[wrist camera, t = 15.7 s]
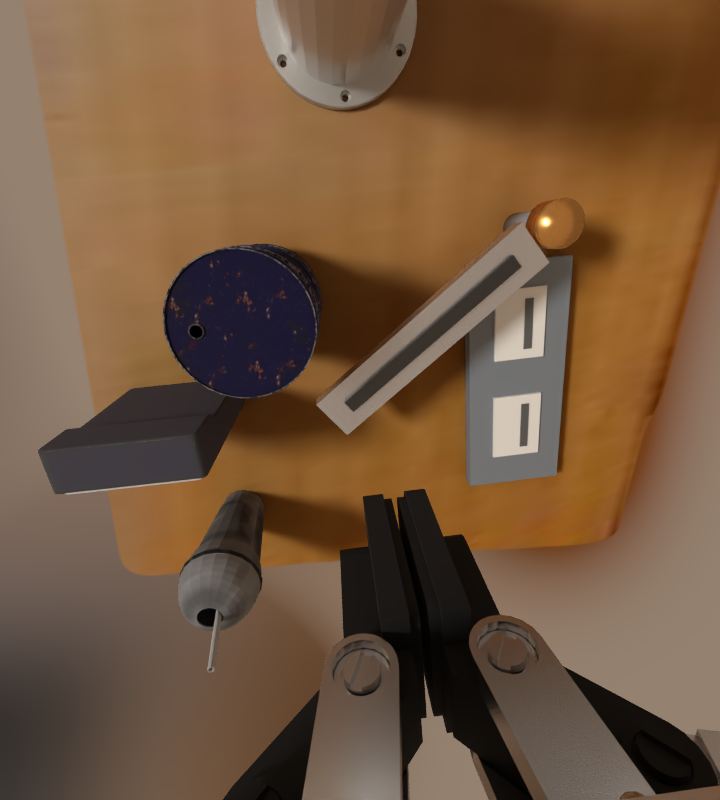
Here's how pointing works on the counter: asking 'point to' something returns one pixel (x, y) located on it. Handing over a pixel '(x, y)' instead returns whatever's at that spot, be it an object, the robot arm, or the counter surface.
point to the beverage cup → (224, 569)
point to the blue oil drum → (243, 319)
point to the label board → (518, 378)
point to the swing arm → (452, 312)
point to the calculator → (143, 440)
